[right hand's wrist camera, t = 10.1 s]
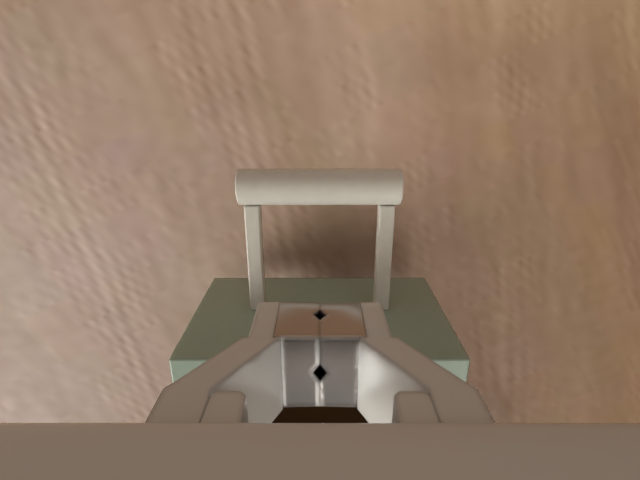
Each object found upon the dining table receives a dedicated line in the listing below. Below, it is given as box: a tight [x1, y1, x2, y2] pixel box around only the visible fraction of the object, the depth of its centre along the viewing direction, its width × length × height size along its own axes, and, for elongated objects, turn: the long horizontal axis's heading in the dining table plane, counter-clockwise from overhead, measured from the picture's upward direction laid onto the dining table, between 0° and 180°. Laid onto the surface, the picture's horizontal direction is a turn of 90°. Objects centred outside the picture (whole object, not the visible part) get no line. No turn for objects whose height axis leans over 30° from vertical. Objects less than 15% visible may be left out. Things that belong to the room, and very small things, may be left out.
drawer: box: [169, 169, 470, 423], centre depth 19 cm, size 25×10×6 cm, turn 0°
